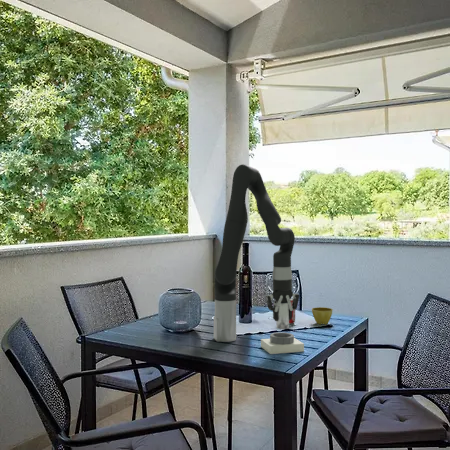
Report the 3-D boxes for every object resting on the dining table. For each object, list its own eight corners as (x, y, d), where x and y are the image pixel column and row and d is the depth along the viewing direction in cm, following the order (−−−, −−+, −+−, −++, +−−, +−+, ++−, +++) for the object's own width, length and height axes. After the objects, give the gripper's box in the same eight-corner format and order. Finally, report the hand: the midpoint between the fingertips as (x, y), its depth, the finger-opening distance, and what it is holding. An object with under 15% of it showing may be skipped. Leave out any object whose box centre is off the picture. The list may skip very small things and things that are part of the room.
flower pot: (310, 321, 238) (310, 307, 238) (330, 321, 238) (330, 307, 238) (313, 325, 228) (313, 311, 228) (334, 325, 228) (334, 311, 228)
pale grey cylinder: (279, 329, 185) (279, 303, 185) (274, 326, 190) (274, 301, 190) (291, 328, 187) (290, 302, 187) (286, 325, 192) (285, 300, 191)
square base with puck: (270, 354, 181) (270, 339, 181) (260, 346, 192) (260, 333, 192) (304, 351, 185) (304, 337, 185) (292, 344, 195) (292, 330, 195)
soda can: (293, 321, 238) (293, 297, 237) (296, 324, 231) (296, 300, 230) (279, 321, 237) (279, 297, 237) (282, 324, 230) (282, 300, 230)
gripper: (268, 280, 183) (269, 323, 183) (302, 278, 186) (303, 321, 187) (262, 277, 190) (262, 319, 190) (295, 276, 194) (295, 317, 194)
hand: (282, 320), depth 188 cm, fingers closed on pale grey cylinder, 5 cm apart
